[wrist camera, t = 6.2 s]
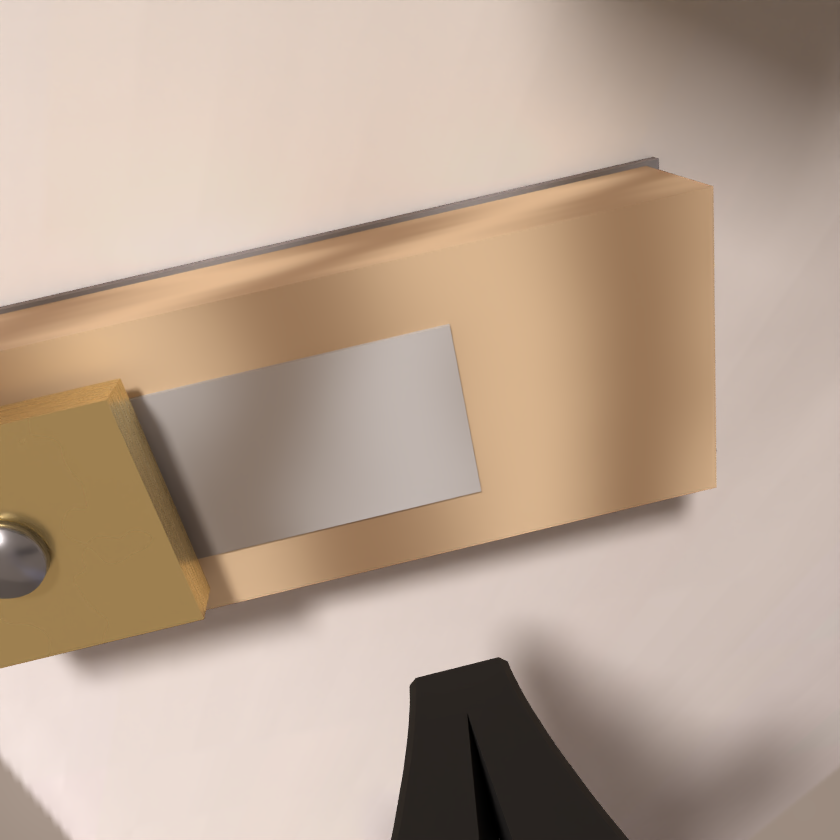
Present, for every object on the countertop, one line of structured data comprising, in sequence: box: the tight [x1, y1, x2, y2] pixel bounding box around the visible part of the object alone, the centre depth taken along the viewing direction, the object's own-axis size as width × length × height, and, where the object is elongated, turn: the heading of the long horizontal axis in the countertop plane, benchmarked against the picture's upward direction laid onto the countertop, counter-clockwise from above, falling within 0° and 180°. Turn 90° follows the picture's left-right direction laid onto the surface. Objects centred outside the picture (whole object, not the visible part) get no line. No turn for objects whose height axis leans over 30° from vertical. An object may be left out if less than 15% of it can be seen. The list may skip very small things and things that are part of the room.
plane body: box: [0, 157, 716, 610], centre depth 17 cm, size 17×7×4 cm, turn 101°
